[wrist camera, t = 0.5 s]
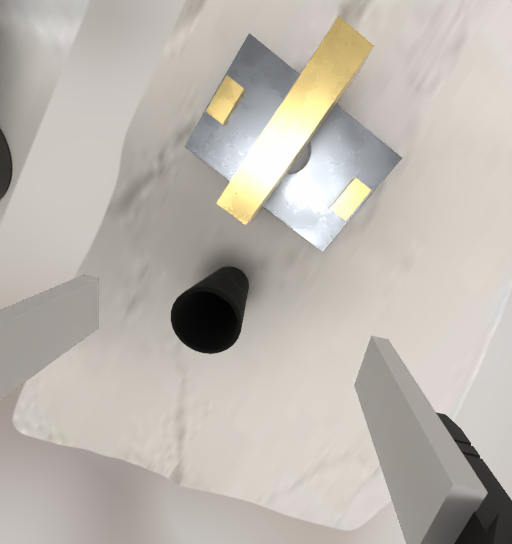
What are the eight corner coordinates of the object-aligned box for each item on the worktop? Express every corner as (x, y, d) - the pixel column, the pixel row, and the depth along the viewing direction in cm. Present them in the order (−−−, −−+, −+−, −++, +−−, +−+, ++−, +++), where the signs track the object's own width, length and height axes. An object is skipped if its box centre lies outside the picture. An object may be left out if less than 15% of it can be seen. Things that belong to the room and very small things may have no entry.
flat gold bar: (231, 200, 31) (216, 203, 24) (327, 58, 26) (338, 15, 20) (255, 218, 31) (245, 225, 25) (354, 80, 26) (373, 45, 20)
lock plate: (188, 147, 36) (168, 139, 30) (250, 39, 32) (241, 5, 26) (321, 249, 37) (326, 260, 32) (398, 158, 33) (420, 152, 27)
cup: (231, 248, 39) (205, 272, 28) (266, 288, 40) (256, 327, 29) (194, 281, 41) (156, 316, 30) (228, 318, 42) (204, 366, 31)
